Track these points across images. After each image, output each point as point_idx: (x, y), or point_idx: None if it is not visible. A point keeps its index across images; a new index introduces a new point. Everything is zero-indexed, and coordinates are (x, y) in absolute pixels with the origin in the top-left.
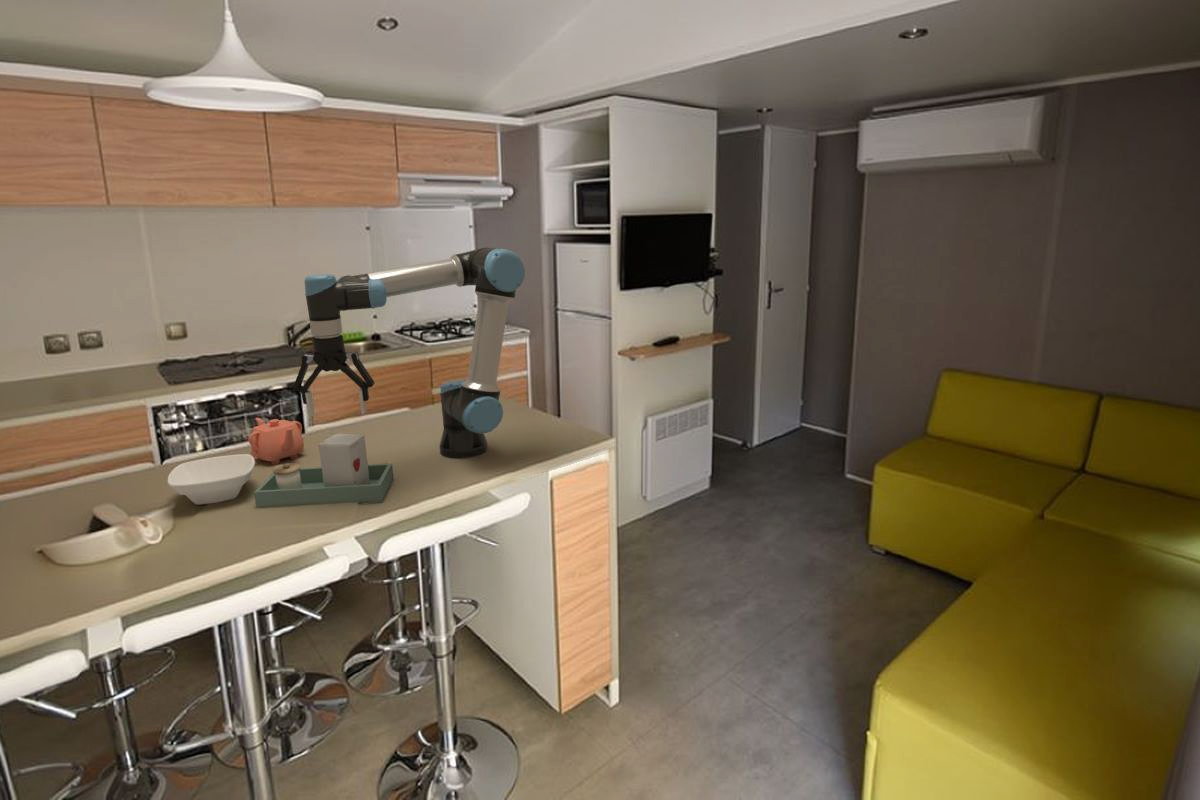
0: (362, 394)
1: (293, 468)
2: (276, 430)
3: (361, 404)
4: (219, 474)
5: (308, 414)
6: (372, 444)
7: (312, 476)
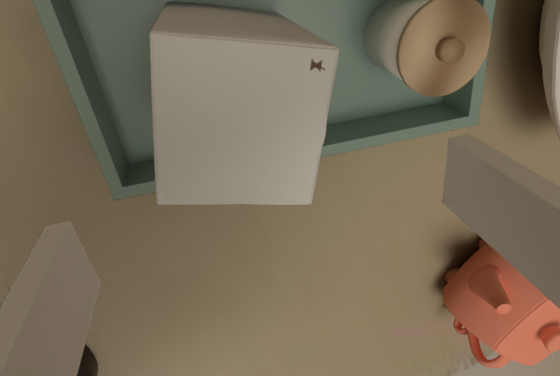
0: None
1: (418, 41)
2: (537, 304)
3: (33, 281)
4: None
5: (479, 140)
6: (297, 359)
7: (362, 126)
